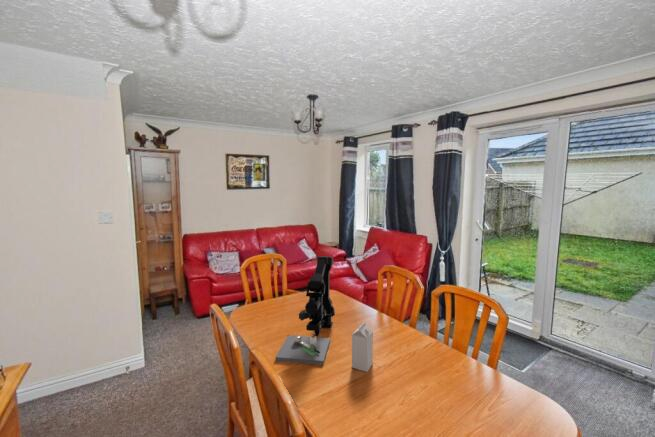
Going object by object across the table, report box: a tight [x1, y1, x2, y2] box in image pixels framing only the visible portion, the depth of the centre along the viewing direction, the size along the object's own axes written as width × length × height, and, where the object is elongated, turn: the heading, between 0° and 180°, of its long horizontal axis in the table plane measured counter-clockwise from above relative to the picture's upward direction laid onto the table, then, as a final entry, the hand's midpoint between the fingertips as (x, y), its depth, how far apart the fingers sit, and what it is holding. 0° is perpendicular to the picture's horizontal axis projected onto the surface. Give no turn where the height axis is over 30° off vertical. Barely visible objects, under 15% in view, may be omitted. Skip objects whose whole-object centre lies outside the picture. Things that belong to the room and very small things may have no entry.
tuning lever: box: [293, 334, 320, 353], centre depth 142 cm, size 17×4×7 cm, turn 47°
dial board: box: [274, 335, 331, 366], centre depth 144 cm, size 20×22×2 cm
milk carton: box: [351, 321, 374, 373], centre depth 130 cm, size 7×7×19 cm
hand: (317, 335), depth 146 cm, fingers closed
